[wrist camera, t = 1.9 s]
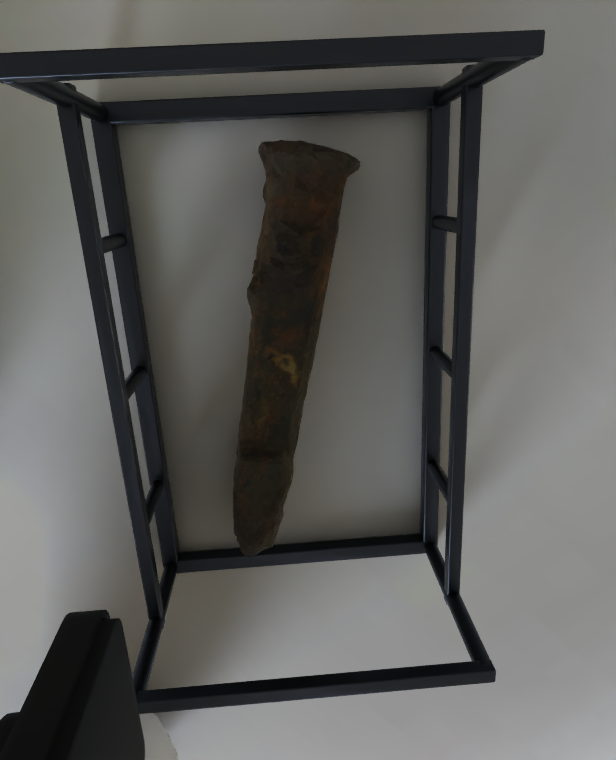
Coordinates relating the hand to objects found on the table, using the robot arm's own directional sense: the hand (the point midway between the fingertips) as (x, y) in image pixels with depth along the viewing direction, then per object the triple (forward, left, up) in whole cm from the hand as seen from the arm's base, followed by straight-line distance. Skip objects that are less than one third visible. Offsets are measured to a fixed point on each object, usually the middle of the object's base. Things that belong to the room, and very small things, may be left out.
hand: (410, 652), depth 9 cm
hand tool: (+2, 0, -19) cm, 19 cm away
